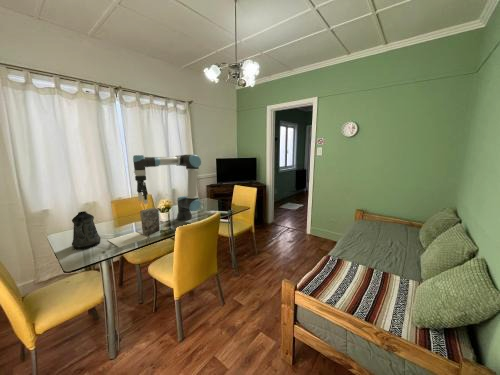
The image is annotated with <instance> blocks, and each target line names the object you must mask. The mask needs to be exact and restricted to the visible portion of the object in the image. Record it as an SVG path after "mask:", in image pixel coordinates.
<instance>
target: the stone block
mask: <svg viewBox="0 0 500 375" xmlns="http://www.w3.org/2000/svg"><path fill="white" fill-rule="evenodd" d="M139 216H140V221H141V230H142V231H141V232H142V234H144V235H146V236H148V235H151V234H153V233H156V232H158V231H160V212H159V209H158V208H156V207H151V208H145V209H142V210H140V211H139Z"/></svg>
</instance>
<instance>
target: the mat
mask: <svg viewBox="0 0 500 375" xmlns="http://www.w3.org/2000/svg"><path fill="white" fill-rule="evenodd" d="M149 238H150V236H148V235H145V234H143V232H142V233H141V232H140V231H134V232H131V233H128V234H124V235H121V236H117V237H114V238H111V239H110V238H109V239H107V242H109V243H110V244H112V245H114V246H115V247H117V248H118V249H119V248H122V247H126V246H128V245H132V244H134V243H137V242H141V241H143V240H147V239H149Z"/></svg>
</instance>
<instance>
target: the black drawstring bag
mask: <svg viewBox="0 0 500 375" xmlns="http://www.w3.org/2000/svg"><path fill="white" fill-rule="evenodd" d="M94 220H95V216H94V215H93V214H90V213H88V212H87V211H85V210H84V211H83V210H82V211H78V213H77V215H76V214H75V216H74V217H73V218H72V219H71V222H72V223H73V229H72V230H73V234H72V235H73V236H72V242H71V246H72V248H73V250H75V249H76V251H80V250H88V249H92V248H95V247H97V246H99V245H100V244H101V241H102V240H101V236H100V234H99V233H98V230H97V228H96V225H95V221H94Z"/></svg>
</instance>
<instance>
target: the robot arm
mask: <svg viewBox="0 0 500 375" xmlns="http://www.w3.org/2000/svg"><path fill="white" fill-rule="evenodd" d="M132 162H133V168H134V169H133V170H134V171H133V173H134V175H135V176H134V181H135V182H136V183H137V185H136V192H137V195H138V201H139V202H141V201H143V204H144V205H147V204H148V203H149V201H148V200H149V199H148V195H149V193H148V190H147V185H146V184H147V183H146V180H147V171H146V168H154V167H160V166H176V167H177V166H179V167H185V170H186V171H187V195H182V196H178V197H177V200H176V201H177V215H176V220H177V219H178V220H177V221H181V220H184V221H190V220H191V218H192V219H193V214H192V212H197V211H199V209H201V205H202V202H201V201H200V200H199V196H198V170H199V167H200V166H201V165H202V159H201V157H200V156H199V155H196V154H182V155H181V154H180V155H175V156H144V154H140V155H139V154H137V155H133V157H132Z"/></svg>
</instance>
